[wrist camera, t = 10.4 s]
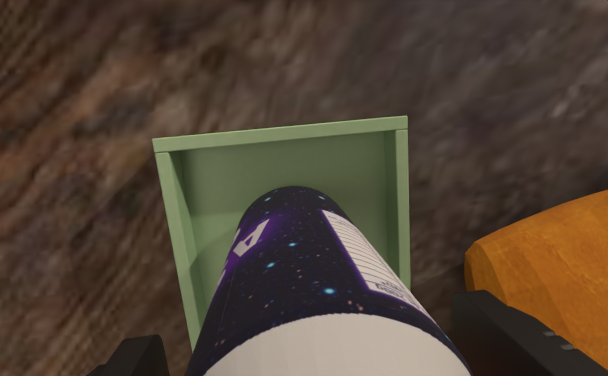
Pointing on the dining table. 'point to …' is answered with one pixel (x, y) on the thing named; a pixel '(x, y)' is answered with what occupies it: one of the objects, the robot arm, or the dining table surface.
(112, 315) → the dining table surface
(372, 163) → the green tray
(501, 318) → the robot arm
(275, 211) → the beverage can
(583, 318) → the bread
